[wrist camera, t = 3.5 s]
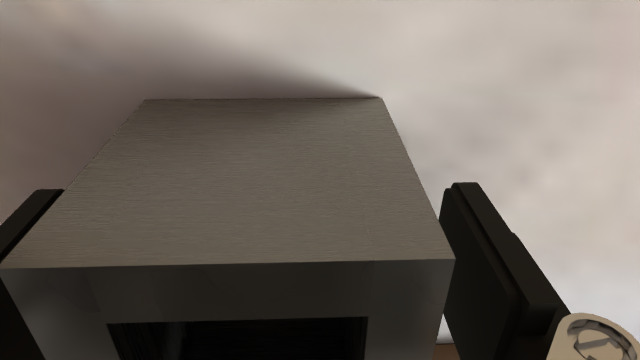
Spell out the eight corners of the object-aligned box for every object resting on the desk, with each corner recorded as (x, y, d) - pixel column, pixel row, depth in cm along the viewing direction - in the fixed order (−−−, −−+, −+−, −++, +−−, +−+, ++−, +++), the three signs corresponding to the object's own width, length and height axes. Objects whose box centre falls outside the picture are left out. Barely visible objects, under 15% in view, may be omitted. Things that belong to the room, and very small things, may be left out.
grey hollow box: (144, 100, 10) (-4, 268, 5) (381, 98, 11) (455, 259, 6) (184, 274, 14) (114, 484, 8) (366, 269, 14) (404, 472, 9)
